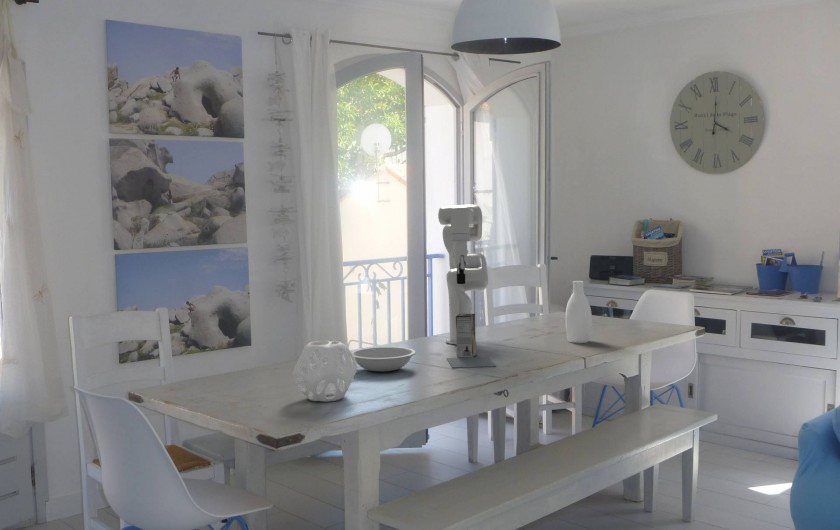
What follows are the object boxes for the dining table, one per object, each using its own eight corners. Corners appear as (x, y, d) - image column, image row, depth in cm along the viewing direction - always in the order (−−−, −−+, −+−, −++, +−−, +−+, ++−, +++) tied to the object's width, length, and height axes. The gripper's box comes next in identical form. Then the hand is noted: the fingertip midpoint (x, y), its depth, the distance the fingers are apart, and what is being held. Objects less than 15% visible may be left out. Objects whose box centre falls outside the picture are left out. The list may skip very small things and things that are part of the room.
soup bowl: (341, 367, 314) (341, 349, 314) (402, 361, 323) (402, 344, 322) (360, 379, 292) (360, 360, 291) (426, 373, 300) (425, 355, 300)
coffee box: (460, 354, 336) (459, 313, 335) (476, 354, 334) (475, 313, 334) (456, 357, 327) (455, 315, 326) (472, 357, 325) (472, 315, 325)
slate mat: (446, 359, 326) (446, 358, 326) (488, 357, 327) (488, 356, 327) (452, 368, 308) (452, 367, 308) (496, 366, 309) (496, 365, 309)
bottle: (590, 344, 353) (589, 282, 351) (563, 343, 357) (562, 282, 355) (593, 339, 364) (593, 280, 362) (567, 338, 367) (566, 279, 365)
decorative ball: (288, 406, 255) (287, 349, 254) (298, 392, 275) (296, 338, 273) (355, 405, 255) (354, 347, 254) (360, 390, 275) (358, 337, 274)
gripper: (448, 237, 347) (449, 282, 349) (453, 238, 332) (453, 285, 334) (467, 236, 348) (467, 281, 349) (472, 238, 333) (473, 285, 334)
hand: (461, 283), depth 341 cm, fingers closed
